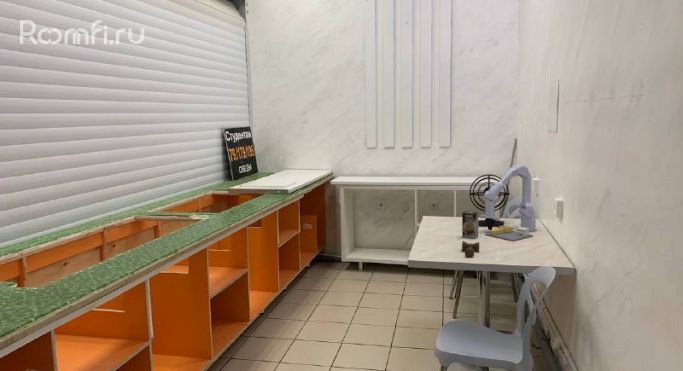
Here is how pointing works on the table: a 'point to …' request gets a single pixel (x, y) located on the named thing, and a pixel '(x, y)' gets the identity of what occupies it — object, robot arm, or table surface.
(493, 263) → the table surface
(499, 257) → the table surface
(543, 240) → the table surface
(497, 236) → the base
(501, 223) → the desk fan
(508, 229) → the link
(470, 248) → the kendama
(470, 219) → the coffee box
